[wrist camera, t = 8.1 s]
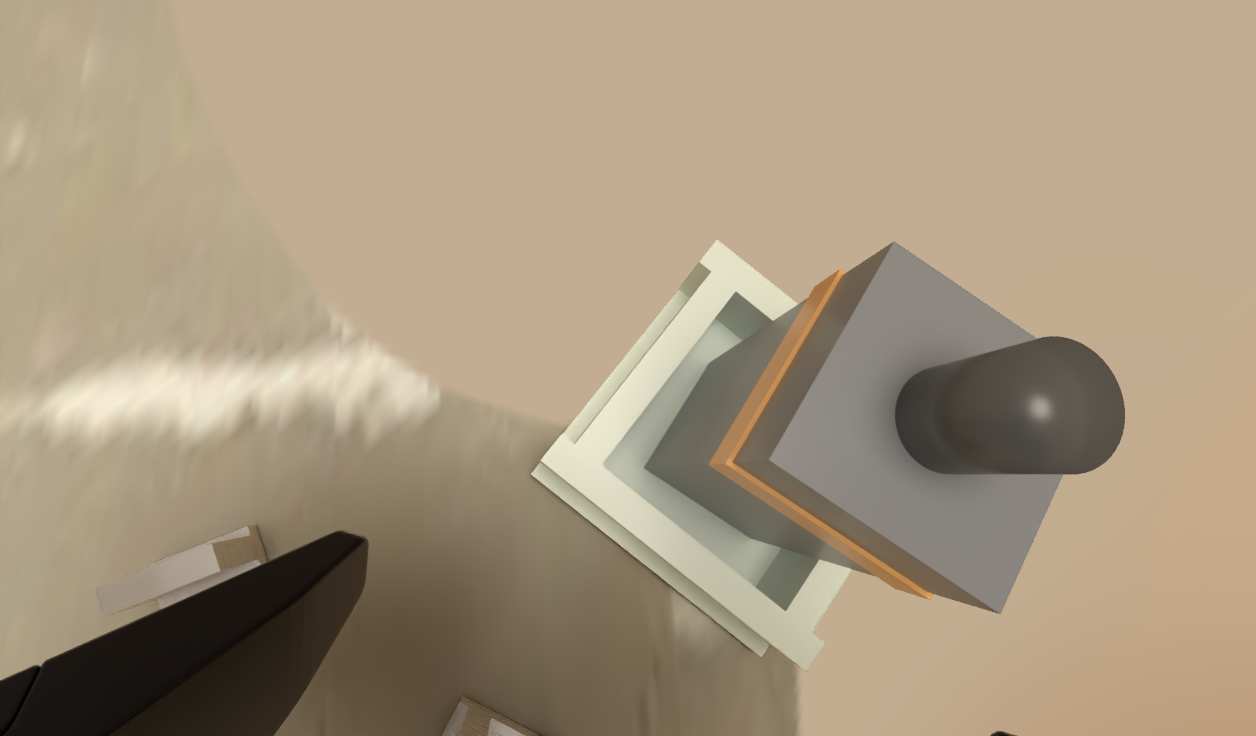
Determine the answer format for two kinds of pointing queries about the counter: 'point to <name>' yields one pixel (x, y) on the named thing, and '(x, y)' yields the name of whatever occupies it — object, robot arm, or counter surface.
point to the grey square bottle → (894, 431)
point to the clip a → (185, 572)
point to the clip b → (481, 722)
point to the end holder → (661, 515)
